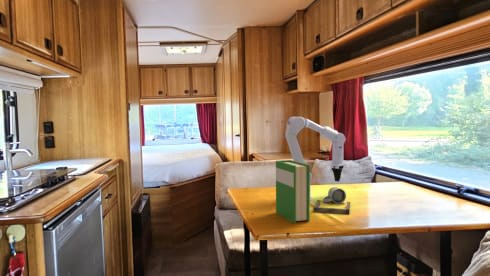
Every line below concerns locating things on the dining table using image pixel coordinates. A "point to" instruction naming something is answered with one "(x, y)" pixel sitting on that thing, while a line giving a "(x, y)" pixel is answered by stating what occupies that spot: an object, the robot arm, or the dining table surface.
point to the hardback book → (293, 190)
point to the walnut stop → (331, 209)
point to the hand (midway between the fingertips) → (337, 180)
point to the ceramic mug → (335, 195)
